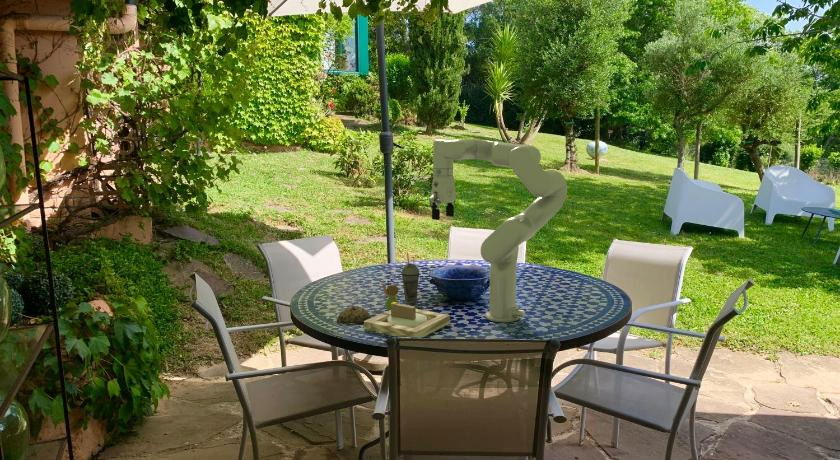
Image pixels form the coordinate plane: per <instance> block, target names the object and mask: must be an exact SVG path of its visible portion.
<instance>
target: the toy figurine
mask: <svg viewBox="0 0 840 460" xmlns="http://www.w3.org/2000/svg"><path fill="white" fill-rule="evenodd" d="M381 282H382V284H381V285H382V291H383V293H384V295H385V296H386V297H387V299H386V300H385V302H384V306H385V308H386V309H387V311H389V310H391V303H392V302H397V303H398V304H400V302H399V300H398V298H397V297H399V294H398V293H399V287H398V286H397V285H396V284H390V285H388V286H386V285H387V284H386V283H384V280H382V281H381Z"/></svg>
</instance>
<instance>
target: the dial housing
mask: <svg viewBox="0 0 840 460" xmlns="http://www.w3.org/2000/svg"><path fill="white" fill-rule="evenodd" d="M416 313H419V314H423V315H425V316H426V317H427V322H425V323H423V324H421V325H419V326H417V327H415V328H410V327H405V326H400V325H395V324H390V323H388V317H389V316H391V310H387V311H385V312H382V313H380V314H378V315H375V316H373V317H371V318H370V319H368V320H366V321H364V323H363V330H364V329H367V330H366V331H368V330H372V331H371V332H373V331H376V332H375V333H377V332H381V333H380V334H382V333H385V334H384V335H387V334H388V336H392V337H396V336H398V337H397V338H401V337H422V338H425V336H428V335H430V334H432V333H434V332H436V331H437V330H439V329H441V328H443V327H446V326H447V325H449V324H451V315H450V314H444V313H440V312H435V311H430V310H429V311H428V310H423V309H418V308H416Z"/></svg>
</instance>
